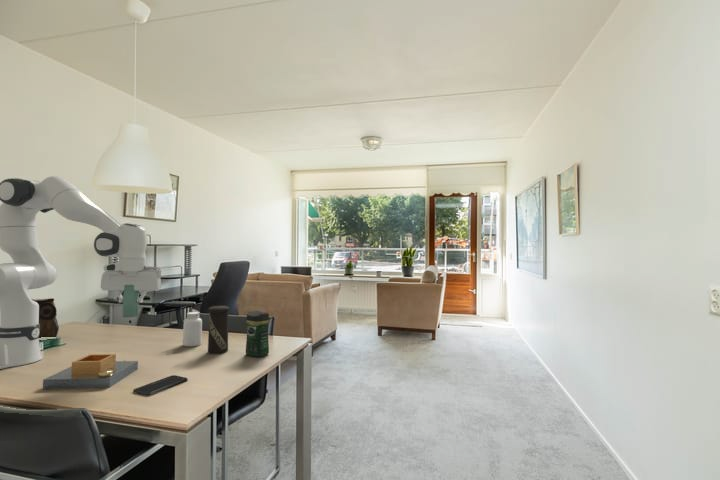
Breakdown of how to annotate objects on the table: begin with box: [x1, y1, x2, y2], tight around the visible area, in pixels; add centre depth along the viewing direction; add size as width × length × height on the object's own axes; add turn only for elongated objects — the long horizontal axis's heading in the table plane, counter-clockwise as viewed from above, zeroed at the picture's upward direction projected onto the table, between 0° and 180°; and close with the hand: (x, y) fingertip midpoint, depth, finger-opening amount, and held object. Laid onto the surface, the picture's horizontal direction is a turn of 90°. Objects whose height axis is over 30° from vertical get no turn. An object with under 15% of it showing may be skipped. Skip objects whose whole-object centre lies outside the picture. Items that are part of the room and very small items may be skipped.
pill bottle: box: [182, 311, 203, 347], centre depth 170 cm, size 8×8×15 cm
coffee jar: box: [245, 310, 270, 358], centre depth 155 cm, size 10×8×19 cm
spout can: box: [122, 285, 140, 318], centre depth 137 cm, size 5×5×15 cm
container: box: [207, 305, 230, 355], centre depth 159 cm, size 9×9×20 cm
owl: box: [30, 297, 60, 338], centre depth 177 cm, size 13×13×20 cm
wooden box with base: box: [42, 353, 139, 390], centre depth 125 cm, size 20×18×7 cm
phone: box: [132, 374, 189, 397], centre depth 119 cm, size 8×1×15 cm
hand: (130, 302), depth 137 cm, fingers closed on spout can, 5 cm apart
